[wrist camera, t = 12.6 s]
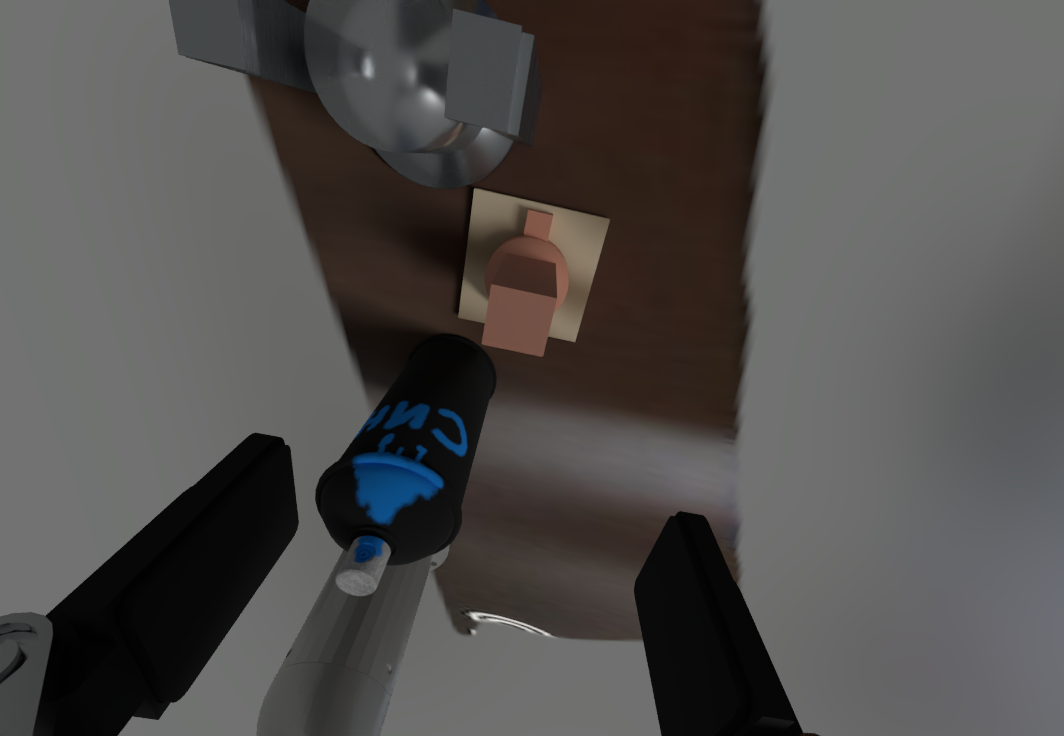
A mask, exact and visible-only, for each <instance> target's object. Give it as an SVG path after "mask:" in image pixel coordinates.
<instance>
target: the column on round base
mask: <svg viewBox="0 0 1064 736" xmlns="http://www.w3.org/2000/svg"><path fill="white" fill-rule="evenodd" d="M169 4H170V9H171V15H172V20H173V25H174V31H175V37H176V42H177V48H178V53H179V55H183V56H186V57H188V58H191V59H195V60H198V61H202V62H205V63H209V64H213V65H217V66H220V67H223V68H227V69H230V70H234V71H237V72H241V73H244V74H248V75H251V76H255V77H259V78H262V79H266V80H269V81H273V82H276V83H280V84H283V85H287V86H290V87H294V88H297V89H301V90H305V91H308V92H312V93H315V94H318V96H319V98H320V100H321V101H322V103H323V105H324V106H325V108H326V109H327V111H328V112H329V114H330V115H331V116H332V117H333V119H334V120H335V121H336V122H337V123H338V124H339V125H340V126H341V127H342V128H343V129H344V130H345V131H346V132H347V133H348V134H350V135H351V136H352V137H354V138H355V139H357V140H358V141H360V142H362V143H363V144H366V145H368V146H370V147H372V148H374V149H375V150H376V151H377V152H378V154H379V155H380V156H381V157H382V158H383V159H384V160H385V161H386V162H387V163H388V164H389V165H390V166H391V167H392V168H393V169H395V170H396V171H397V172H398V173H400V174H401V175H403V176H405V177H406V178H408V179H410V180H412V181H414V182H416V183H419V184H422V185H425V186H428V187H434V188H445V189H450V188H457V187H462V186H466V185H469V184H472V183H475V182H477V181H479V180H481V179H483V178H484V177H486V176H487V175H489V174H490V173H491V172H493V171H494V170H495V169H496V168H497V167H498V166H499V165H500V164H501V163H502V161H503V160H504V159H505V158H506V156H507V155H508V153H509V152H510V150H511V148H512V146H513V144H514V142H517V143H521V144H526V145H530V146H532V145H533V139H534V134H535V128H536V123H537V117H538V112H539V106H540V100H541V95H542V85H541V78H540V71H539V64H538V57H537V50H536V43H535V36H534V35H531V34H527V33H524V32H523V28H522V26H520V25H516V24H512V23H508V22H504V21H501V20H500V18H499V17H498V16H497V15H496V13H495V12H494V11H493V10H492V8H491V7H490V6H489V5H488V4H487V3H486V2H485V1H484V0H310V1H309V4H308V7H307V12H306V13H304V12H302V11H301V10H299V9H297V8H296V7H294V6H292V5H291V4H289V3H287V2H285V1H284V0H169Z"/></svg>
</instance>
